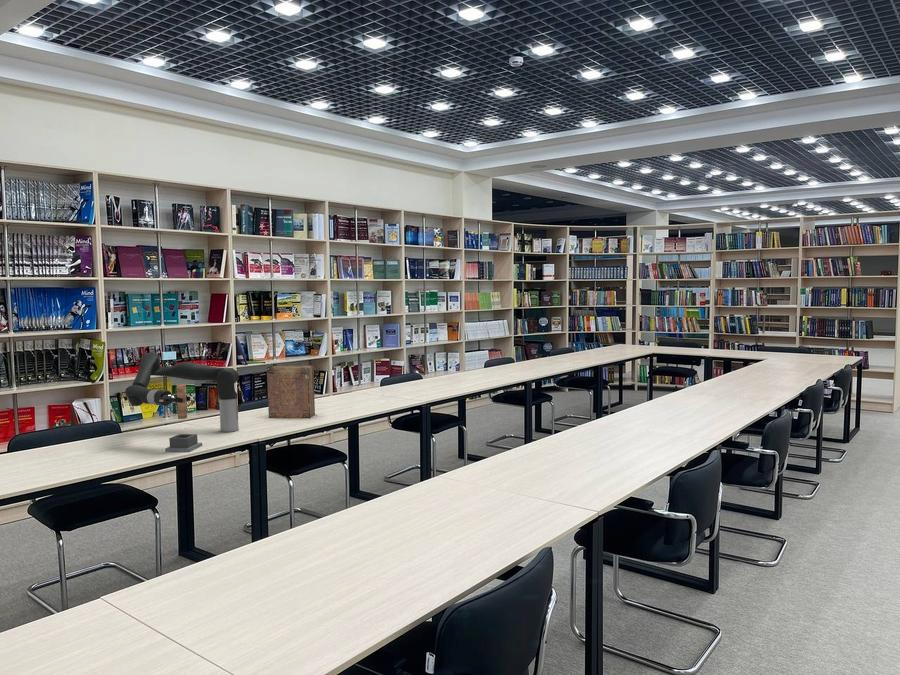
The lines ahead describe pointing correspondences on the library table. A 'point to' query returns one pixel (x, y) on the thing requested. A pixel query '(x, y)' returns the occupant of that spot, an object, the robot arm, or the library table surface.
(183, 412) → the peg
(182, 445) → the socket board
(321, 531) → the library table surface
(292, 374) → the book
